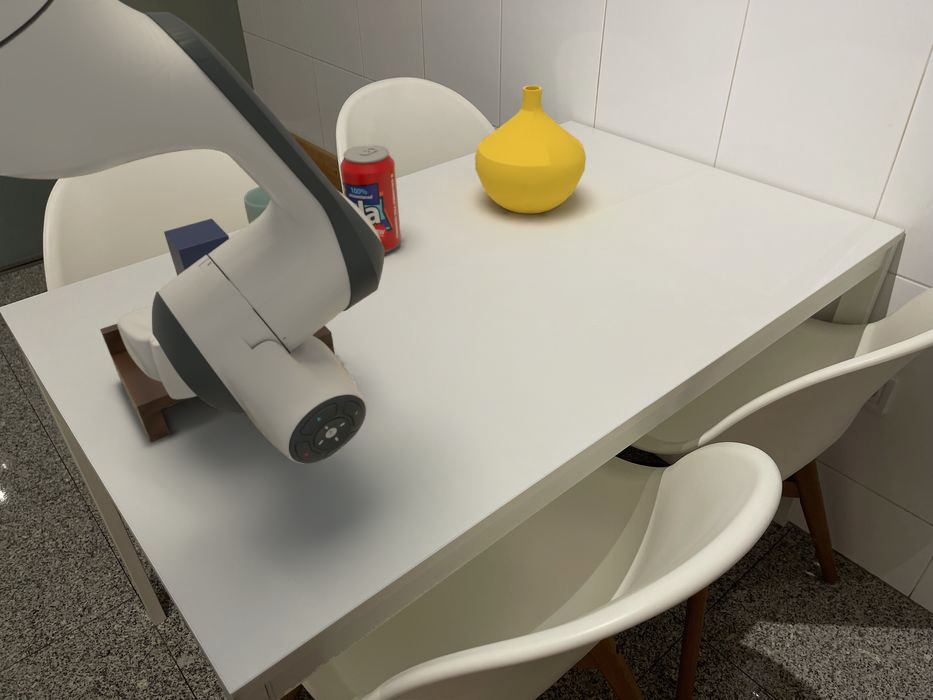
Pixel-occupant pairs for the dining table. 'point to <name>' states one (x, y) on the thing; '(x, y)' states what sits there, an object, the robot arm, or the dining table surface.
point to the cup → (255, 203)
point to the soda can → (373, 189)
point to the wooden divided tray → (154, 382)
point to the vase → (530, 160)
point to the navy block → (194, 243)
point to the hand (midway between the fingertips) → (206, 279)
